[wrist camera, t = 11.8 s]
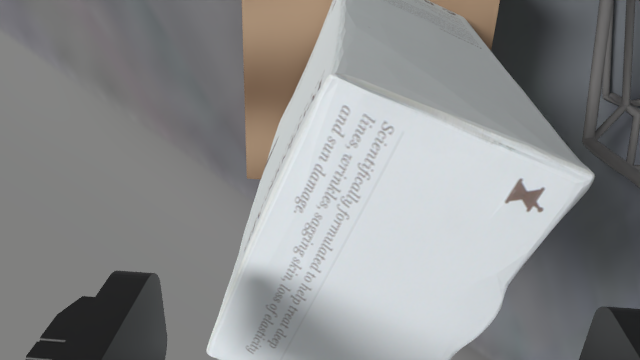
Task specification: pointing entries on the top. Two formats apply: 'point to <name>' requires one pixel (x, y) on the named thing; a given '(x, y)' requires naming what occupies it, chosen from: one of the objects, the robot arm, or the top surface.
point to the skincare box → (394, 195)
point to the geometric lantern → (602, 72)
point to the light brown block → (302, 59)
